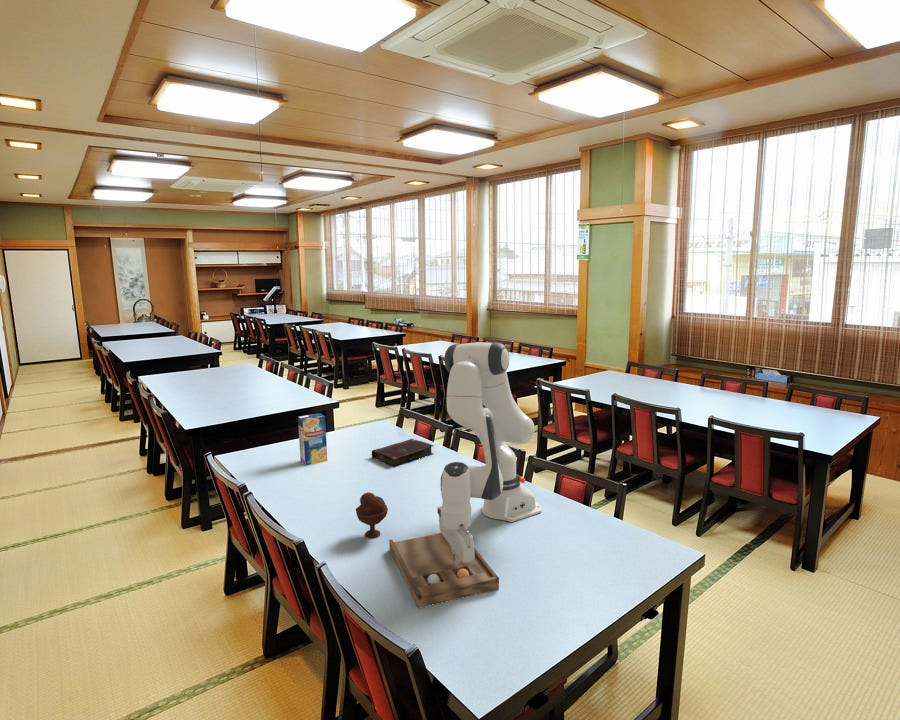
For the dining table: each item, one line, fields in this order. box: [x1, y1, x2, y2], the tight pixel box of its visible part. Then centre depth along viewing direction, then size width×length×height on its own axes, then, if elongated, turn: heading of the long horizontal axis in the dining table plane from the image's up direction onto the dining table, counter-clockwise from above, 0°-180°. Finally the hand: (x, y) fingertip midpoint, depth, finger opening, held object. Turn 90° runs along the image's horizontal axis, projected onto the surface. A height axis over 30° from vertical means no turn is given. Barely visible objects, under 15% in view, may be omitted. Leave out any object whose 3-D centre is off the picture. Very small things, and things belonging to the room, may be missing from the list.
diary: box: [371, 438, 435, 468], centre depth 257 cm, size 19×25×5 cm
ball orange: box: [456, 569, 469, 578], centre depth 154 cm, size 4×4×4 cm
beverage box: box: [297, 412, 328, 466], centre depth 250 cm, size 7×11×22 cm, turn 125°
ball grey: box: [427, 574, 440, 585], centre depth 152 cm, size 4×4×4 cm
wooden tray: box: [388, 532, 500, 609], centre depth 161 cm, size 24×32×4 cm
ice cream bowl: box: [355, 492, 389, 540], centre depth 180 cm, size 11×11×15 cm
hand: (456, 560), depth 158 cm, fingers closed
